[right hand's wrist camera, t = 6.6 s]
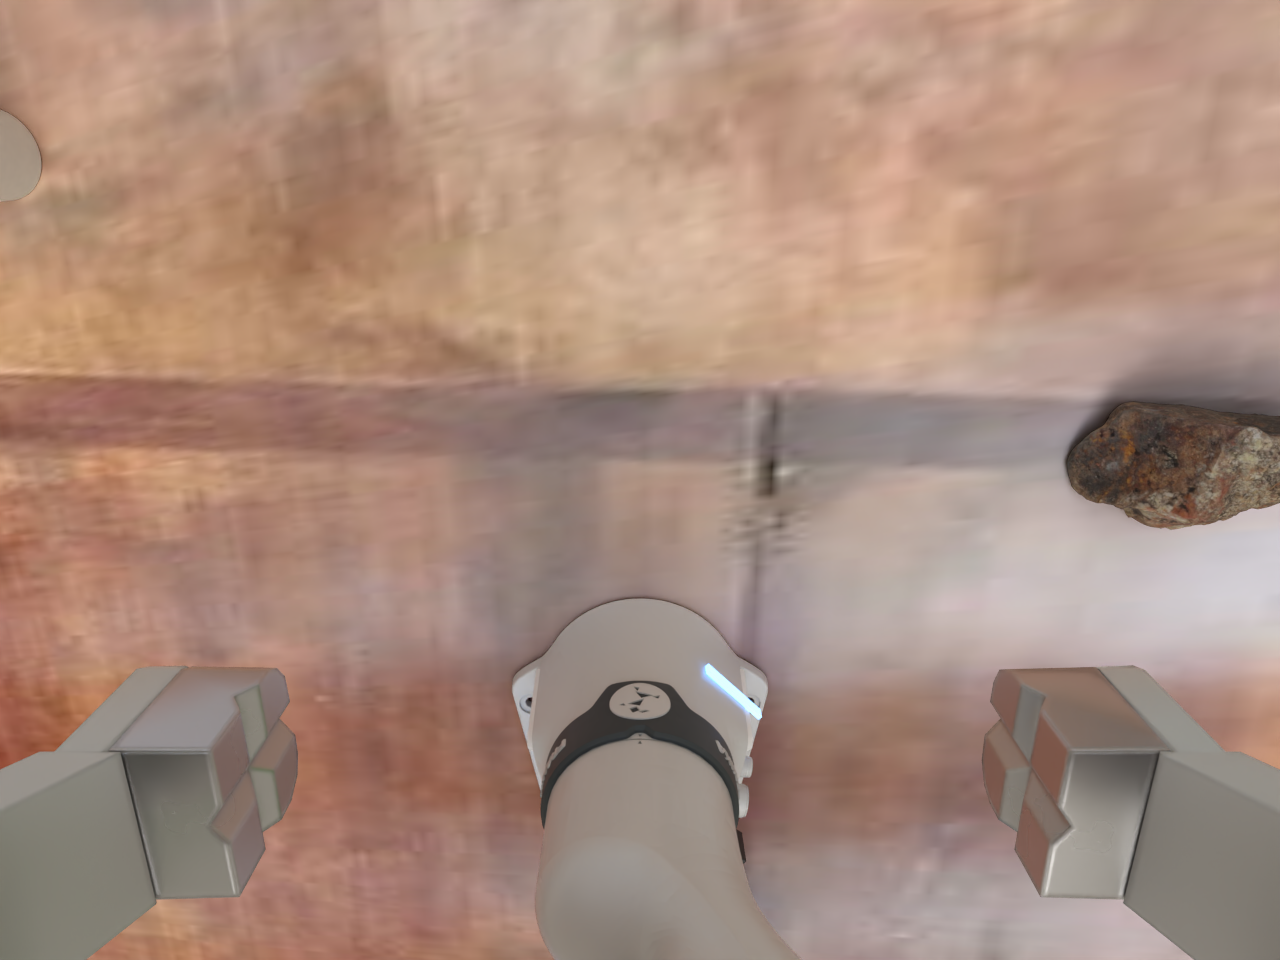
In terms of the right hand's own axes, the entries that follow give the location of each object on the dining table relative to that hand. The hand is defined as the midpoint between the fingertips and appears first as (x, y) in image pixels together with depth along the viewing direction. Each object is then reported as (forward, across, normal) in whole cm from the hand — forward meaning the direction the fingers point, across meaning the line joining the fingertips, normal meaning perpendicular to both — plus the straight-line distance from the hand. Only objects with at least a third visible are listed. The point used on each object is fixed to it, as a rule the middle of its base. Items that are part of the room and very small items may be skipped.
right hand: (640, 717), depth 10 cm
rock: (+48, +36, -13) cm, 61 cm away
